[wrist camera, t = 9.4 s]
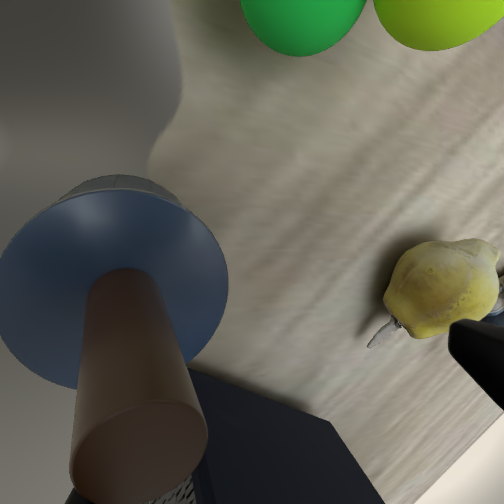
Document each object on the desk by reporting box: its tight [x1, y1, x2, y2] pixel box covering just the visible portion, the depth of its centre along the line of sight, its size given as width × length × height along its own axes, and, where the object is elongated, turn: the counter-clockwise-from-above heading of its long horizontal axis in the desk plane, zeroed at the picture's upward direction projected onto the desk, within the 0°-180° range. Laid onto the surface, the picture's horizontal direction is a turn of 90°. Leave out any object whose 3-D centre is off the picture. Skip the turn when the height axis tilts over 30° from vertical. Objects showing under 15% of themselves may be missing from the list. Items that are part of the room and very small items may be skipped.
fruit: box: [367, 238, 501, 348], centre depth 22 cm, size 6×6×10 cm
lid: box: [0, 188, 228, 504], centre depth 9 cm, size 8×8×8 cm
